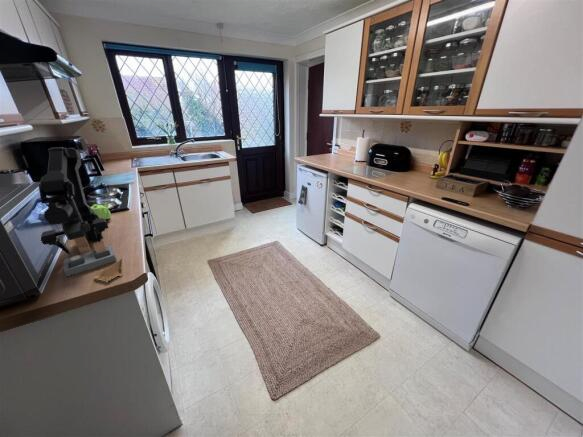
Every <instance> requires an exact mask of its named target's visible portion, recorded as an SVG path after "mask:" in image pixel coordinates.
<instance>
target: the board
mask: <svg viewBox="0 0 583 437" xmlns="http://www.w3.org/2000/svg"><path fill="white" fill-rule="evenodd" d="M93 248H94V250H91V252H87V253H84V254H81V253H80V254H78V255H74V256H72V257H68V258H65V259H63V263H64V264H63V271H64V273H65V276H66V277H67V276H69V277H71V276H70V275H72V276H74V275H73V274H75V275H77V274H76V273H78V274H80V273H79V272H81V273H83V272H82V271H84V272H86V271H85V270H87V271H89V270H88V269H90V270H92V269H91V268H93V269H95V268H94V267H96V268H98V267H97V266H99V267H101V266H100V265H102V266H104V265H103V264H105V265H107V264H106V263H108V264H110V262H111V263H114V262H116V261H117V258H116V255H115V253H114V250H113V247H112V245H109V246H106V245H105V242H104V240H100V242H97V241H96V242H94V243H93Z"/></svg>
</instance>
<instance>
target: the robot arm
mask: <svg viewBox="0 0 583 437" xmlns="http://www.w3.org/2000/svg"><path fill="white" fill-rule="evenodd" d="M47 153H48V156H49V157H48V164H47V165H48V166H47V173H45V175H43V176H41V179H40V181H39V183H38V190H39V195H40V201H41V204H42V205H43V204H47V209H46V210H45V211H44V213H43V218H44V219H45V220H46V221H47V222H48V223H50V224H54V225H61V228H62V230H59V231H57V230H56V229H55V228H54V229H49V230H47V231H42V232H43V233H42V232H41V233H42V235H41V234H40V236H41V240H40V242H41V241H42V242H41V244H42V243H43V244H44V245H49V246H56V247H59V248H60V249H61V250H62V251H63V252H65V253H66V254H67V255H71V253H70V250H69V248H68V246H67V245H66V243H65V242H64V240H63V238H62V237H64V236H65V237H66V238H67V240H68V241H72V240H73V241H74V239H75V238H79V237H84V236H85V238H86V240H87V242H88V243H91V242H94V241H96V243H97V242H100V241H102V240H101V239H104V236H103V232H106V230H107V229H109V225H108V223H107V221H106V220H107V219H104V218H99V216H98V215H97V214H96V213H95V212H94V211H93V209H92V208H91V207H92V206H90V205H89V204H87V200H86V197H85V193H84V188H83V184H82V179H81V176H80V172H79V170H80V168H81V166H82V160H81V159H82V153H81V152H80V150H79V149H76V148H75V147H68V148H67V147H63V146H60V147H50V148H48V149H47ZM43 244H42V245H43Z"/></svg>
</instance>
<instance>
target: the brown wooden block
mask: <svg viewBox="0 0 583 437" xmlns="http://www.w3.org/2000/svg"><path fill="white" fill-rule="evenodd" d="M73 241H74V243H75V244H76V247H77V250H78V252H79V253H80V255H81V254H84V253H87V252H91V251H92V248H91V246H90V244H89V242H87V240H86V238H85V236H84V237H79V238H75V239H73Z"/></svg>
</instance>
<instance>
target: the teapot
mask: <svg viewBox="0 0 583 437" xmlns="http://www.w3.org/2000/svg"><path fill="white" fill-rule="evenodd" d="M109 205H110V204H109V203H107V202H106V203H104V205H103V204H93V205H92V206H90V207H91V208H92V209H93V211H94V212H95V213H96V214H97V215H98V216H99V218H104V219H105V220H110V219H111V217H112V213H111V211H110V210H109V208H108V207H109Z"/></svg>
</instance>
